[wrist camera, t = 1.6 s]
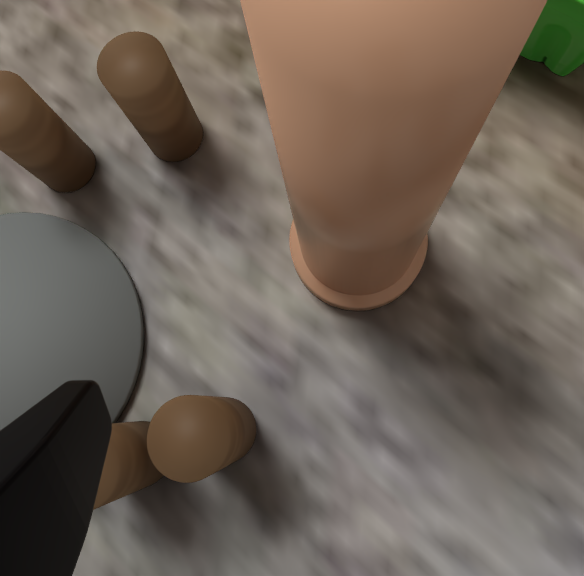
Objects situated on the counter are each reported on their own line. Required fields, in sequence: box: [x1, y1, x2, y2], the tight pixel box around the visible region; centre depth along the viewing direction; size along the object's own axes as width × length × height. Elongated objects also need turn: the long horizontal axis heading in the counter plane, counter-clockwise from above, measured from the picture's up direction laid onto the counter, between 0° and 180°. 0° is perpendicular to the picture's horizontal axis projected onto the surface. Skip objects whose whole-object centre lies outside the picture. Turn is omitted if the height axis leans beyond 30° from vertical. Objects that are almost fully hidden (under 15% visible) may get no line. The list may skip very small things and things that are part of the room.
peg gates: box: [0, 32, 256, 510], centre depth 19 cm, size 15×8×5 cm, turn 21°
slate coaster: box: [0, 212, 144, 430], centre depth 21 cm, size 11×11×1 cm
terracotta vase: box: [240, 0, 547, 311], centre depth 14 cm, size 5×5×14 cm
